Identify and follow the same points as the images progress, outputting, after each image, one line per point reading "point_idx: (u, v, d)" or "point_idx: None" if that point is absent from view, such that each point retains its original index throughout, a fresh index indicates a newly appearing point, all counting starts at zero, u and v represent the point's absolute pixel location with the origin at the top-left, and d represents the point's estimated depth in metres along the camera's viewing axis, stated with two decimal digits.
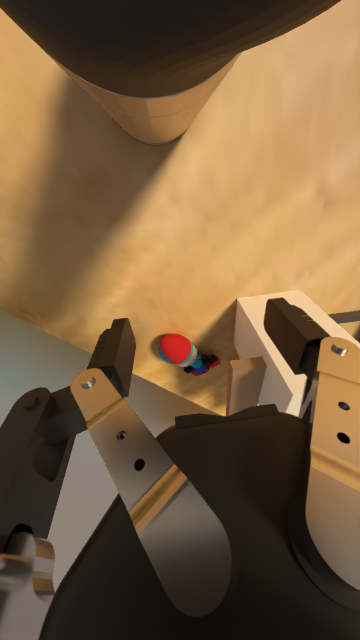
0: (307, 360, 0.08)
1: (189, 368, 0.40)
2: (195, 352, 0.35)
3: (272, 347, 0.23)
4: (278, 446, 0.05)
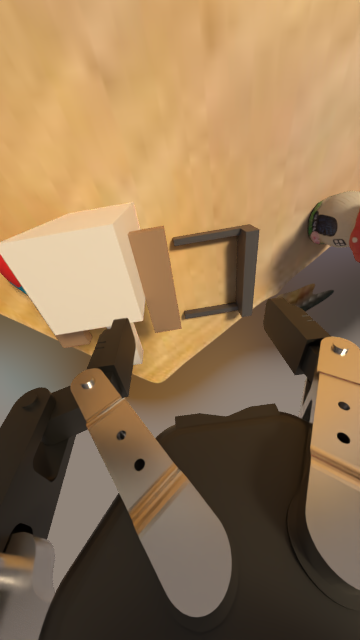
0: (307, 360, 0.08)
1: None
2: None
3: (38, 227, 0.21)
4: (278, 446, 0.05)
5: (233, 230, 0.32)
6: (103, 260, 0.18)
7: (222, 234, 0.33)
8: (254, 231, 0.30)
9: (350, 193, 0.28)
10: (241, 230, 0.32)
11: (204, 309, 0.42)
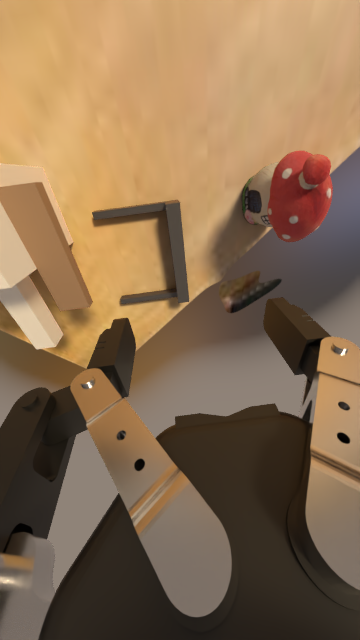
0: (307, 360, 0.08)
1: None
2: None
3: None
4: (278, 446, 0.05)
5: (157, 204, 0.30)
6: None
7: (146, 209, 0.30)
8: (174, 204, 0.28)
9: (274, 164, 0.26)
10: (165, 204, 0.30)
11: (142, 294, 0.39)
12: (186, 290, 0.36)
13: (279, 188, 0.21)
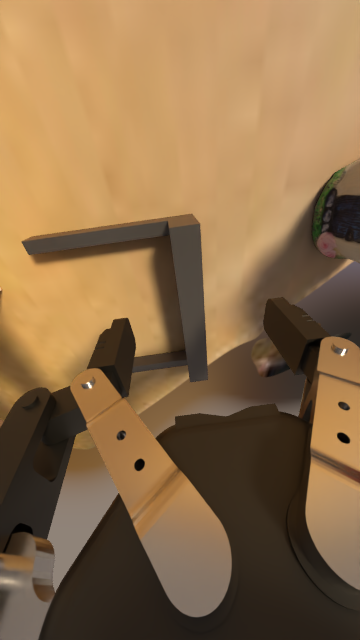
0: (307, 360, 0.08)
1: None
2: None
3: None
4: (278, 446, 0.05)
5: (152, 225, 0.15)
6: None
7: (130, 233, 0.15)
8: (188, 227, 0.13)
9: None
10: (168, 225, 0.15)
11: None
12: (204, 366, 0.21)
13: None
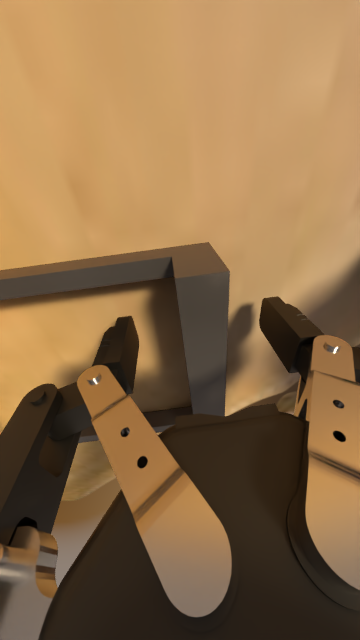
0: (301, 358, 0.09)
1: None
2: None
3: None
4: (278, 446, 0.05)
5: (147, 262, 0.09)
6: None
7: (111, 275, 0.10)
8: (209, 277, 0.07)
9: None
10: None
11: None
12: None
13: None
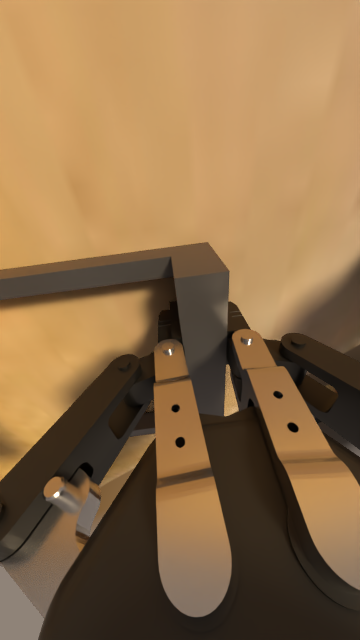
0: (228, 350, 0.09)
1: None
2: None
3: None
4: None
5: (146, 262, 0.09)
6: None
7: (110, 275, 0.10)
8: (209, 277, 0.07)
9: None
10: None
11: None
12: None
13: None
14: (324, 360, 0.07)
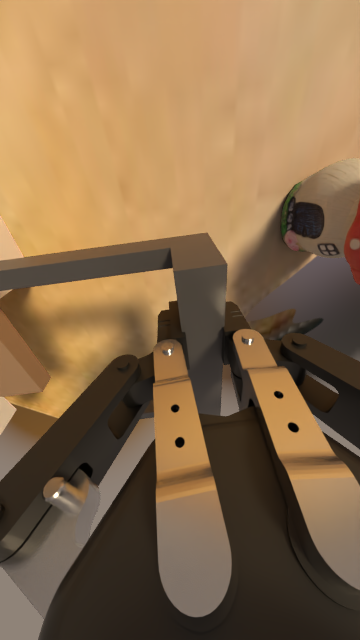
0: (228, 350, 0.09)
1: None
2: None
3: None
4: None
5: (146, 254, 0.09)
6: None
7: (110, 266, 0.10)
8: (207, 270, 0.07)
9: (348, 161, 0.16)
10: None
11: None
12: None
13: None
14: (325, 360, 0.07)
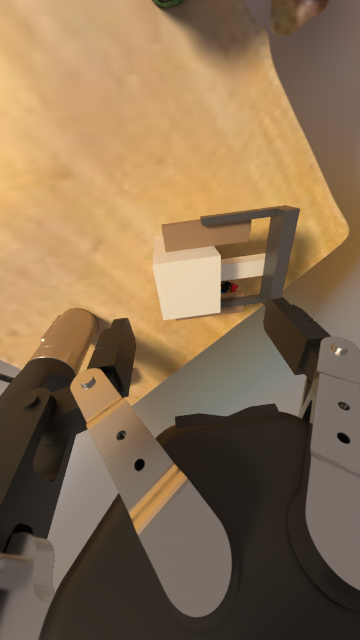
0: (307, 360, 0.08)
1: None
2: None
3: None
4: (278, 446, 0.05)
5: (268, 210, 0.29)
6: (172, 273, 0.30)
7: (256, 215, 0.29)
8: (294, 210, 0.27)
9: None
10: (277, 210, 0.29)
11: (226, 300, 0.39)
12: (279, 296, 0.35)
13: None
14: None
